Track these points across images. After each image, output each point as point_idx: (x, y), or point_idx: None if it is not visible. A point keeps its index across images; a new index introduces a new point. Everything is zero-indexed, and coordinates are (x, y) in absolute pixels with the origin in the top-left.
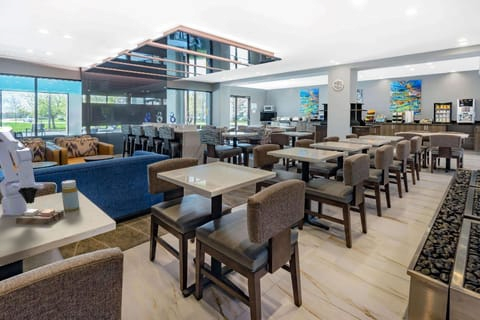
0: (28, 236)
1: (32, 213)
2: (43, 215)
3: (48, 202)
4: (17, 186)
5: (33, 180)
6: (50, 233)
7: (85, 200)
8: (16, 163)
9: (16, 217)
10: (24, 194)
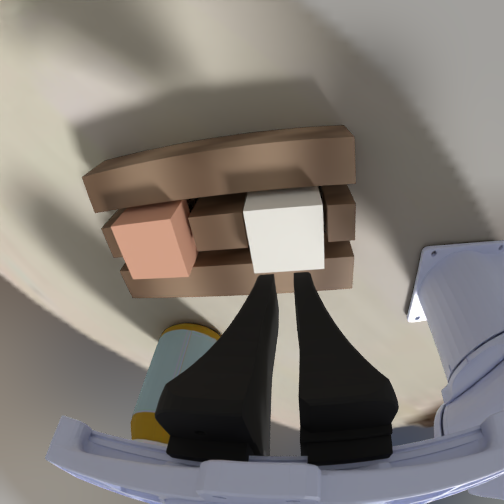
0: (78, 9)
1: (244, 206)
2: (158, 209)
3: None
4: (411, 473)
5: None
6: (17, 84)
7: None
8: None
9: (347, 142)
10: (300, 354)
